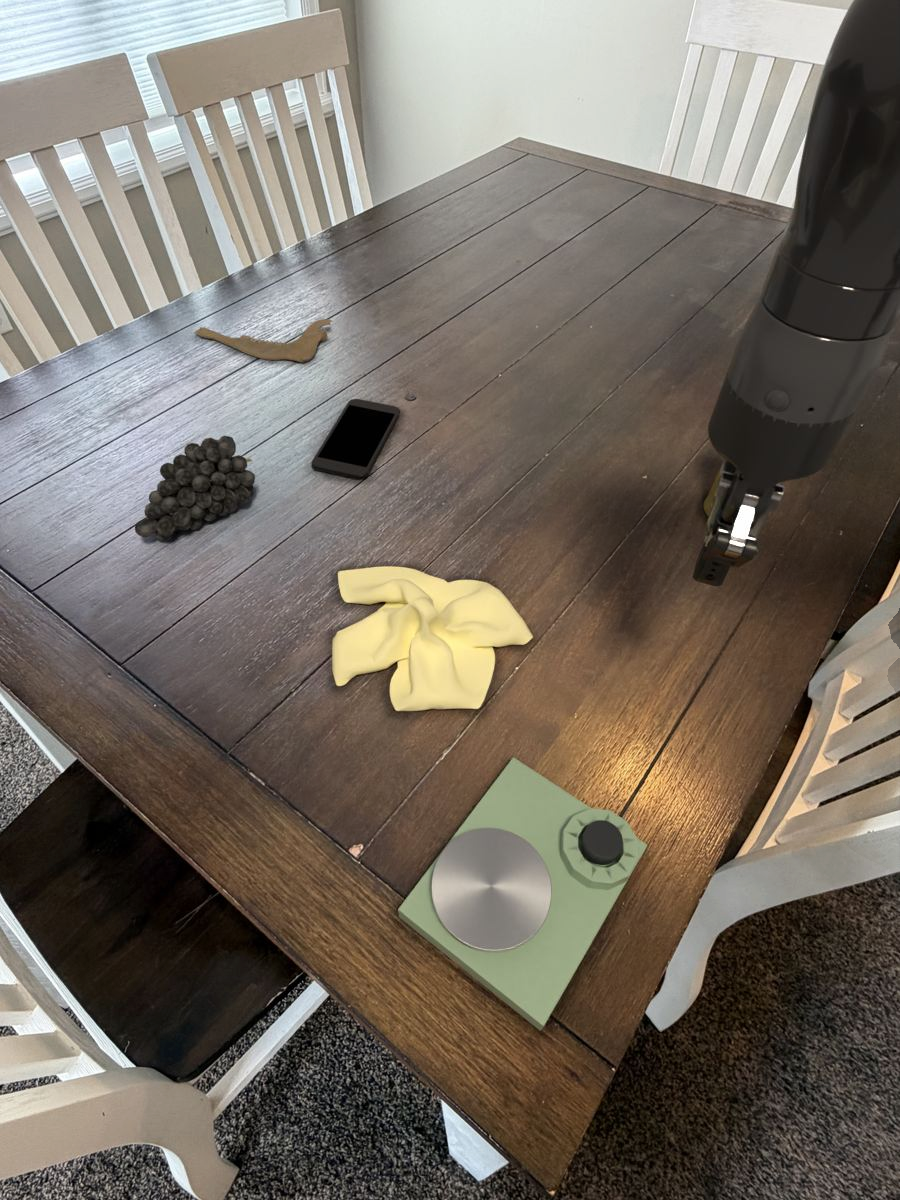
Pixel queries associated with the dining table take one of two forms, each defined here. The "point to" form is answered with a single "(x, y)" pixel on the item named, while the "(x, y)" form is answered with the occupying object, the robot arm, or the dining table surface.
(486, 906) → the weighing plate
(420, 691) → the cloth
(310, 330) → the jawbone
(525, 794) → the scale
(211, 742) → the dining table surface
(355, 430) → the smartphone
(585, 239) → the dining table surface
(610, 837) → the button
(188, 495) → the fruit
